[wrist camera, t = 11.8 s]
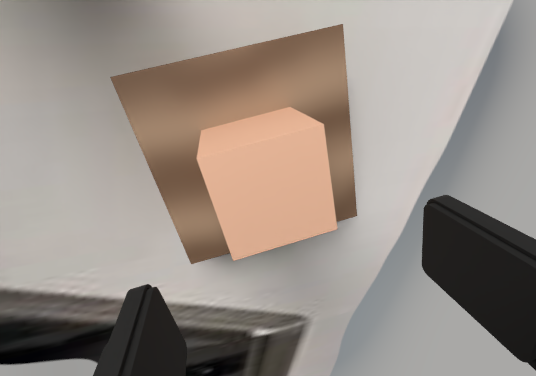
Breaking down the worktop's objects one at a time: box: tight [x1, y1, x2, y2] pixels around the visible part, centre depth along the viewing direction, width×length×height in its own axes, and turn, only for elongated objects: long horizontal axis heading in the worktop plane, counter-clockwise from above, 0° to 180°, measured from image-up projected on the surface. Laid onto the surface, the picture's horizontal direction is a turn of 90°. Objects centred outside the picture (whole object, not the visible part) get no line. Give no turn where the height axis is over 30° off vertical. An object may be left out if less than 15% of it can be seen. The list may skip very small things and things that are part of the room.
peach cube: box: [197, 107, 337, 261], centre depth 16 cm, size 6×6×6 cm
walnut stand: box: [110, 24, 357, 264], centre depth 21 cm, size 14×14×5 cm
